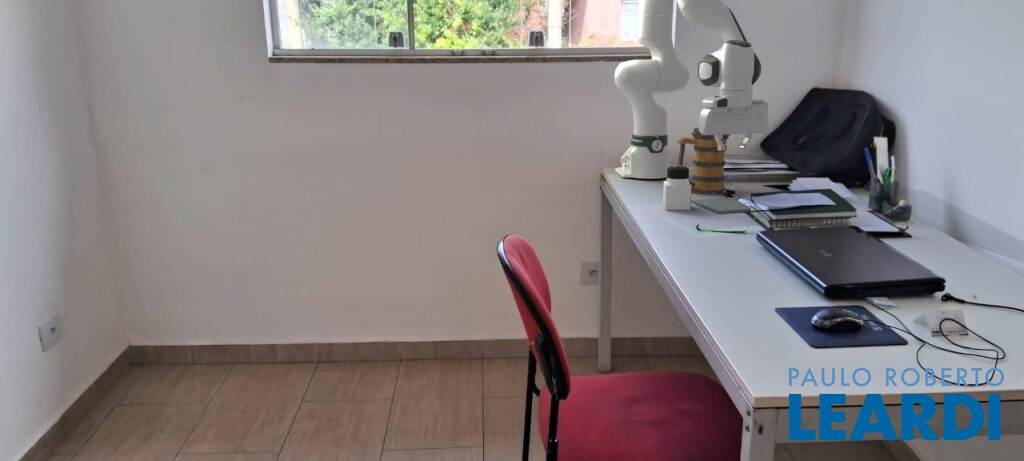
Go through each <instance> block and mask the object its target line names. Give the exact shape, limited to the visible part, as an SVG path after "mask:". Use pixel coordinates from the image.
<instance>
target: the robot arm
mask: <svg viewBox="0 0 1024 461" xmlns="http://www.w3.org/2000/svg"><path fill="white" fill-rule="evenodd" d="M676 3H677V6H678V9H679V11H680V13H681V15H682V16H683V17H684V18H685V20H687V21H689V22H690V23H692V24H697V25H700V26H702V27H705V28H708V29H710V30H712V31H714V32H716V33H717V34H718V35H719V36H720V37H721V38H722V40H723V42H724V43H723V44H722V46H721V47H720V48H718V49H717V50H714V51H713V52H710V53H707V54H705V55H704V56H702V57H701V59H700V61H699V62H698V65H697V66H698V67H697V77H698V79H699V81H700V83H701V84H702V85H703V86H705V87H709V88H719V93H717V94H714V95H712V96H709V97H707V98H704V99H703V100H702V101H701V102H702V103H701V106H702V107H703V109H702V110H700V113H699V114H700V115H699V119H698V128H699V132H700V133H701V134H703V135H714V138H715V140H716V142H717V144H718V150H719V151H725V147H726V146H727V143H726V144H723V143H722V141H721V139H722V138H723V134H730V135H739V134H740V135H741V134H743V137H744V139H743V142H739V149H740V150H742V151H743V150H748V149H749V148H748V146H749V143H750V142H751V140H752V139H753V134H765V133H767V132H768V130H769V104H768V103H767V101H765V100H764V99H753V91H754V90H753V89H754V88H753V86H754V84H755V83H756V82H758V79H759V78H760V76H761V73H762V64H761V61H760V58H759V57H758V56H757V55H756V53H755V51H754V48H753V45H752V43H750V42H748V39H747V38H746V36H745V34H744V32H743V30H742V27H741V25H740V24H739V22H738V20H737V18H736V16H735V14H734V12H733V11H732V9H730V8H729V7H728V6H727V5H726V4H725V3H724V2H723V1H722V0H676ZM638 4H639V5H638V17H637V19H638V20H637V33H636V37H637V40H638V42H639V43H640V45H641V46H643V47H645V48H646V49H648V50H649V52H650V55H651V59H631V60H626V61H623V62H620V63H619V64H618V66H617V67H616V69H615V71H614V74H613V75H614V77H613V78H614V83H615V86H616V88H617V89H618V90H619V91H620V92H621V93H622V94H623V95H624V96H625V97H626V98H627V99H628V101H629V103H630V105H631V108H632V114H633V115H632V116H633V117H632V118H633V134H632V135H631V138H630V146H629V147H628V148H627V150H626V151H625V152H624V153H623V154H622V156H620V158H619V162H620V163H621V166H620V167H615V170H614V171H615V172H616V173H618V175H620V176H621V177H623V178H633V179H634V178H635V179H649V180H651V179H652V180H654V179H664V178H666V179H667V168H668V167H670V166H672V159H671V150H670V149H668V147H667V146H668V141H669V137H668V134H667V132H668V131H667V129H668V112H667V111H666V109H665V108H664V107H663V106H662V105H659V104H658V103H656V102H655V100H654V96H653V94H659V93H661V94H662V93H663V94H664V93H673V92H677V91H681V90H683V89H684V88H685V87H686V86H687V84H688V82H689V80H690V69H689V67H688V65H687V64H686V63H685V62H684V61H683V60H682V59H681V57H680V56H679V55H678V54H677V52H676V50H675V46H674V43H673V42H674V41H673V19H674V18H673V17H674V16H673V15H674V10H673V9H674V0H639V3H638ZM725 152H726V151H725Z"/></svg>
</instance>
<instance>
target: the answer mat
mask: <svg viewBox="0 0 1024 461" xmlns="http://www.w3.org/2000/svg"><path fill="white" fill-rule="evenodd" d="M741 198H742V197H741V196H734V197H718V198H717V197H716V198H703V199H702V198H701V199H691V204H693V205H695V206H697V207H699V208H702V209H705V210H707V211H709V212H712V213H715V214H717V215H718V214H719V215H721V214H722V215H723V214H734V213H737V214H738V213H750V212H752V211H751V208H750V207H749V206H747V205H745V204H742V203H740V202H739V201H738V200H739V199H741Z"/></svg>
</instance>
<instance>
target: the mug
mask: <svg viewBox="0 0 1024 461" xmlns="http://www.w3.org/2000/svg"><path fill="white" fill-rule="evenodd" d="M690 135H691V136H692V137H685V136H684V137H683V136H682V137H680V138H679V139H677V140H676V142H677V144H680V145H679V146H680V147H679V154H678V159H677V160H678V162H677V165H679V166H684V158H685V157H684V156H685V150H686V144H688V145H693V150H694V154H695V155H694V156H695V157H694V160H693V161H692V164H693V165H694V172H693V175H692V181H691V180H690V181H688V182H689V183H690V184H691V186H692V192H691V193H694V194H697V195H712V196H713V195H714V196H715V195H720V194H722V195H724V194H727V193H726V192H727V190H726V189H727V188H726V187H725V181H726V176H725V174H724V172H725V171H724V169H725V167H724V166H726V164H727V162H726V160H725V157H726V156H725V155H726V154H725V153H726V152H727V148H728V146H727V141H728V139H729V137H730V136H731V134H723V138H722V139H721V141H722V143H723V144H726V147H725V151H719V150H718V144H717V142H716V140H715V138H714V135H703V134H701V133H700V132H699V127H697V128H693V131H692V133H690Z"/></svg>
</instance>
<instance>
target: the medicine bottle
mask: <svg viewBox="0 0 1024 461" xmlns="http://www.w3.org/2000/svg"><path fill="white" fill-rule="evenodd" d="M689 174H690V168H689V167H687V166H686V165H683V166H679V165H678V164H676V165H675V164H674V165H671V166H670V167H668V168H667V177H666V180H664V181H663V186H662V187H663V191H662V192H663V193H662V194H663V195H662V206H663V208H664V210H665V211H691V210H692V208H691V207H692V203H691V200H692V193H693V192H692V186H691V184H690V183H689V182H688V181H689V179H690V176H689Z"/></svg>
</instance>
